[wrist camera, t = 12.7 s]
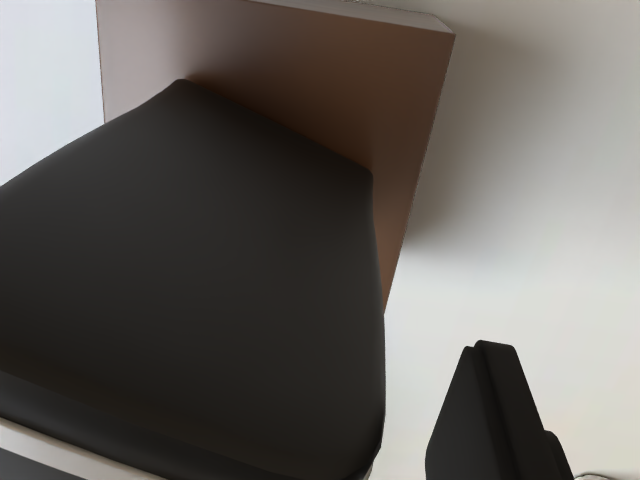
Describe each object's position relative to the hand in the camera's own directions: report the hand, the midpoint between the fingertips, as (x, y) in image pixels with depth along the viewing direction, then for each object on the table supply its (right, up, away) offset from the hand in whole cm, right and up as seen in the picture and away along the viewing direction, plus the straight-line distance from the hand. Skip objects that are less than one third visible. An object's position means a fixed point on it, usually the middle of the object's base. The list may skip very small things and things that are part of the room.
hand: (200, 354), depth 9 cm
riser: (+1, +7, +11) cm, 13 cm away
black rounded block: (0, +4, +7) cm, 8 cm away
